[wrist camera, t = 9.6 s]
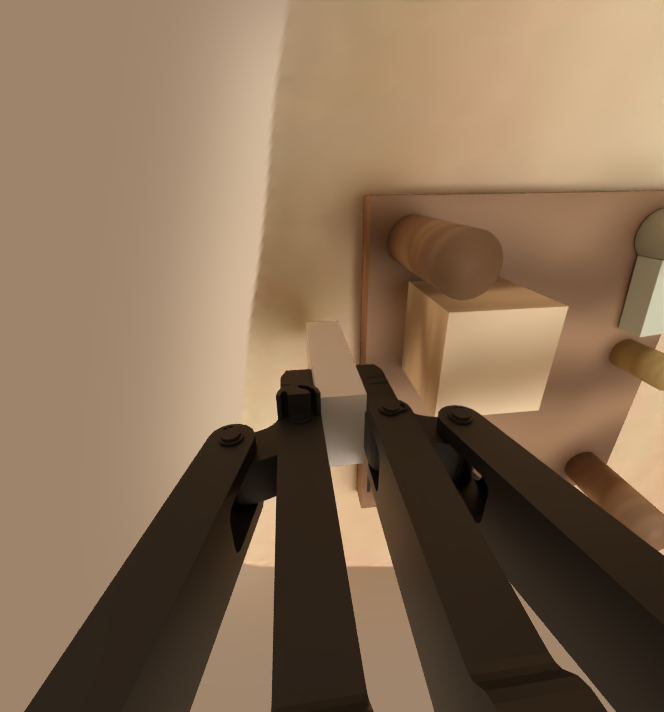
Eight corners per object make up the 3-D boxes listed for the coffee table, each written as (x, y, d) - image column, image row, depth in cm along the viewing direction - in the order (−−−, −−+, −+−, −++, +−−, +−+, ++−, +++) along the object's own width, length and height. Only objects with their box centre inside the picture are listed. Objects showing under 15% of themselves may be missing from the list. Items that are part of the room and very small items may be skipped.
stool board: (364, 195, 18) (413, 202, 11) (689, 189, 20) (906, 192, 13) (357, 490, 26) (382, 596, 20) (582, 467, 28) (677, 557, 21)
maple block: (408, 281, 18) (448, 313, 14) (500, 277, 19) (568, 306, 14) (401, 367, 20) (434, 419, 16) (484, 362, 21) (538, 410, 16)
